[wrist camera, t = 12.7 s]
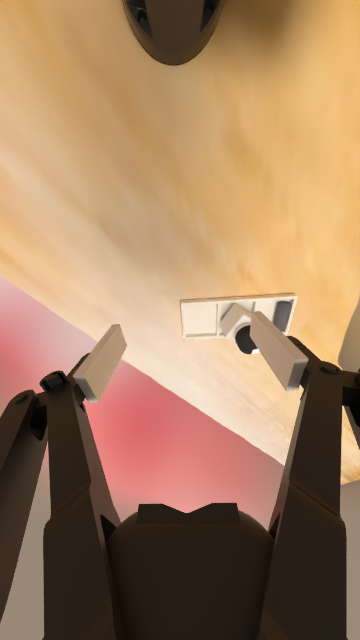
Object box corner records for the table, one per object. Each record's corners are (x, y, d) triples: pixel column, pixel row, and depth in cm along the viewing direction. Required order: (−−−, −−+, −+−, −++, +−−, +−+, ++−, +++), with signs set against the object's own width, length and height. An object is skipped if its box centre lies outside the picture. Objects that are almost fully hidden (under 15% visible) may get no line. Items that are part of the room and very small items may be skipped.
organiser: (180, 300, 44) (180, 303, 42) (292, 293, 43) (298, 295, 41) (183, 335, 49) (183, 339, 47) (283, 330, 48) (287, 334, 46)
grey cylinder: (282, 305, 41) (294, 304, 41) (275, 301, 43) (286, 300, 43) (276, 332, 44) (286, 331, 44) (270, 327, 47) (280, 326, 47)
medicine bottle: (218, 323, 45) (230, 350, 34) (234, 302, 42) (252, 324, 31) (238, 334, 46) (255, 362, 36) (255, 314, 43) (279, 339, 33)
